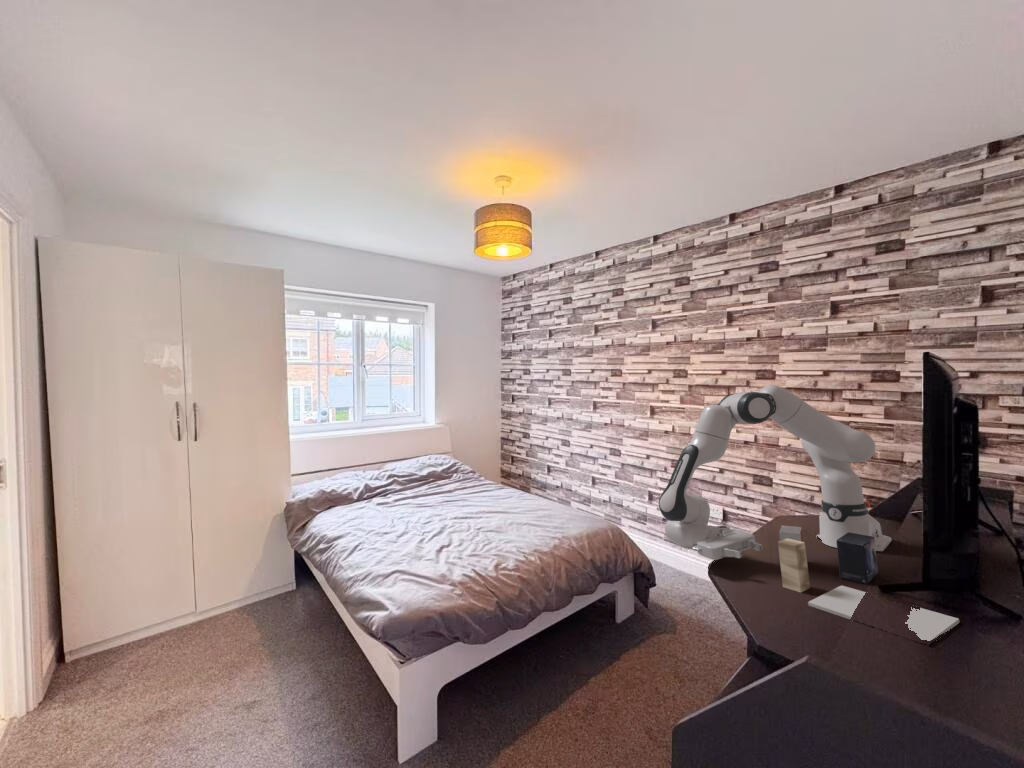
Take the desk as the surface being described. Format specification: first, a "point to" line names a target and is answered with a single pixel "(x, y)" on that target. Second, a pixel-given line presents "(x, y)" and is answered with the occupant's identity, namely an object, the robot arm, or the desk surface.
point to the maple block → (793, 565)
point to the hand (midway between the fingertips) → (751, 551)
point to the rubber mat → (919, 621)
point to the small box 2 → (857, 557)
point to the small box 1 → (791, 533)
